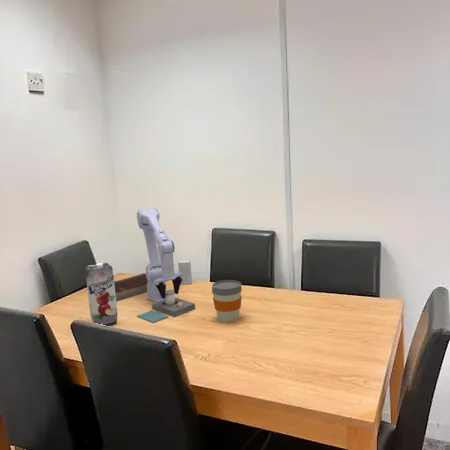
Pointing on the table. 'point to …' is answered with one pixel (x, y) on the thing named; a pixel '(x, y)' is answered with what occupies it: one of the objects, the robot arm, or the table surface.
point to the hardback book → (130, 286)
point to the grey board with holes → (173, 307)
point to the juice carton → (101, 293)
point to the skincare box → (185, 271)
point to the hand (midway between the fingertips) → (170, 295)
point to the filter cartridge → (170, 297)
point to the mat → (152, 316)
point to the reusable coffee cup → (227, 299)
